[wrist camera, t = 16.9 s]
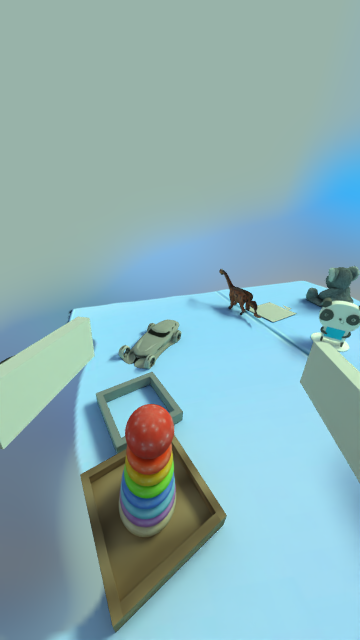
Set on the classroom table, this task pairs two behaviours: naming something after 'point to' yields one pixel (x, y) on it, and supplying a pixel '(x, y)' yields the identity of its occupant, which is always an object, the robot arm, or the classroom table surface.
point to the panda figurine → (337, 323)
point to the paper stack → (273, 311)
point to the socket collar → (129, 387)
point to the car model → (151, 344)
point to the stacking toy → (148, 472)
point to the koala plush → (335, 286)
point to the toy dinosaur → (240, 297)
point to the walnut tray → (146, 552)
